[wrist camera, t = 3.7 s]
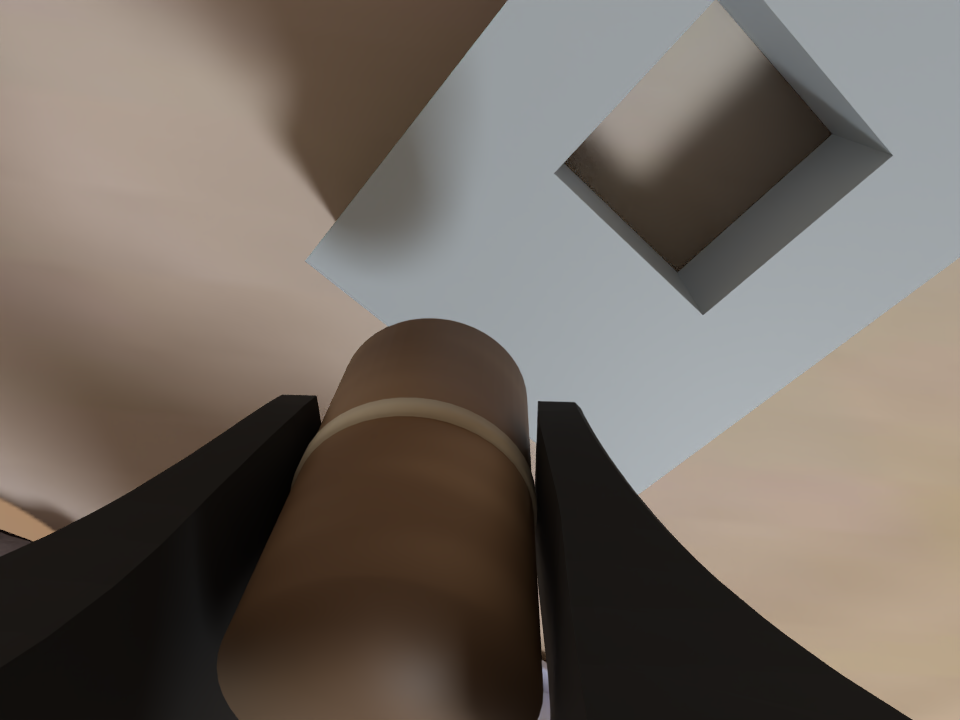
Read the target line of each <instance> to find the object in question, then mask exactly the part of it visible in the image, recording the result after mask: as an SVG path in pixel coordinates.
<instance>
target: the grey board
mask: <svg viewBox="0 0 960 720" xmlns="http://www.w3.org/2000/svg"><path fill="white" fill-rule="evenodd" d="M713 1H714V0H508V1H507V2H506V3H505V4H504V6H503V7H502V8H501V10H500V11H499V12H498V13H497V15H496V16H495V17H494V19H493V20H492V21H491V22H490V24H489V25H488V26H487V28H486V29H485V30H484V31H483V33H482V34H481V35H480V37H479V38H478V39H477V40H476V42H475V43H474V44H473V46H472V47H471V48H470V49H469V51H468V52H467V53H466V55H465V56H464V57H463V58H462V60H461V61H460V62H459V64H458V65H457V66H456V67H455V69H454V70H453V71H452V73H451V74H450V75H449V76H448V78H447V79H446V80H445V82H444V83H443V84H442V85H441V87H440V88H439V89H438V91H437V92H436V93H435V94H434V96H433V97H432V98H431V100H430V101H429V102H428V103H427V105H426V106H425V107H424V109H423V110H422V111H421V112H420V114H419V115H418V116H417V118H416V119H415V120H414V121H413V123H412V124H411V125H410V127H409V128H408V129H407V130H406V132H405V133H404V134H403V136H402V137H401V138H400V139H399V141H398V142H397V143H396V145H395V146H394V147H393V149H392V150H391V151H390V152H389V154H388V155H387V156H386V158H385V159H384V160H383V161H382V163H381V164H380V165H379V167H378V168H377V169H376V170H375V172H374V173H373V174H372V176H371V177H370V178H369V179H368V181H367V182H366V183H365V185H364V186H363V187H362V188H361V190H360V191H359V192H358V194H357V195H356V196H355V197H354V199H353V200H352V201H351V203H350V204H349V205H348V206H347V208H346V209H345V210H344V212H343V213H342V214H341V215H340V217H339V218H338V219H337V221H336V222H335V223H334V224H333V226H332V227H331V228H330V230H329V231H328V232H327V233H326V235H325V236H324V237H323V239H322V240H321V241H320V242H319V244H318V245H317V246H316V248H315V249H314V250H313V251H312V253H311V254H310V255H309V257H308V258H307V259H306V260H305V261H306V262H307V263H308V264H309V265H311V266H312V267H313V268H314V269H316V270H317V271H318V272H319V273H321V274H322V275H323V276H325V277H326V278H327V279H328V280H330V281H331V282H332V283H333V284H335V285H336V286H337V287H339V288H340V289H341V290H342V291H344V292H345V293H346V294H347V295H349V296H350V297H351V298H353V299H354V300H355V301H356V302H358V303H359V304H360V305H361V306H363V307H364V308H365V309H367V310H368V311H369V312H370V313H372V314H373V315H374V316H375V317H377V318H378V319H379V320H380V321H382V322H383V323H384V324H386V325H387V326H388V327H389V326H391V325H394V324H397V323H400V322H404V321H408V320H413V319H421V318H438V319H446V320H452V321H456V322H460V323H463V324H466V325H469V326H471V327H474V328H476V329H478V330H480V331H482V332H484V333H485V334H487V335H488V336H490V337H491V338H493V339H494V340H496V341H497V342H498V343H499V344H500V345H501V346H502V347H503V348H504V349H505V350H506V351H507V352H508V353H509V354H510V356H511V357H512V358H513V360H514V361H515V363H516V364H517V366H518V367H519V370H520V372H521V374H522V376H523V379H524V383H525V386H526V392H527V403H528V421H529V438H530V439H532V440H533V441H534V442H536V441H537V411H538V401H556V402H575V403H576V404H577V405H578V406H579V407H580V408H581V409H582V412H583V414H584V416H585V417H586V419H587V421H588V423H589V425H590V427H591V428H592V430H593V432H594V433H595V435H596V437H597V438H598V440H599V441H600V443H601V444H602V446H603V448H604V449H605V451H606V452H607V454H608V455H609V457H610V458H611V460H612V461H613V462H614V464H615V465H616V466H617V468H618V469H619V471H620V472H621V473H622V475H623V476H624V477H625V479H626V480H627V482H628V483H629V484H630V486H631V487H632V488H633V489H634V491H635V492H636V493H637V495H638V494H640V493H641V492H642V491H644V490H645V489H646V488H648V487H649V486H650V485H652V484H653V483H655V482H656V481H657V480H659V479H660V478H661V477H663V476H664V475H665V474H667V473H668V472H669V471H671V470H672V469H674V468H675V467H676V466H678V465H679V464H680V463H682V462H683V461H684V460H686V459H687V458H688V457H690V456H691V455H692V454H694V453H695V452H697V451H698V450H699V449H701V448H702V447H703V446H705V445H706V444H707V443H709V442H710V441H711V440H713V439H714V438H716V437H717V436H718V435H720V434H721V433H722V432H724V431H725V430H726V429H728V428H729V427H730V426H732V425H733V424H734V423H736V422H737V421H739V420H740V419H741V418H743V417H744V416H745V415H747V414H748V413H749V412H751V411H752V410H753V409H755V408H756V407H758V406H759V405H760V404H762V403H763V402H764V401H766V400H767V399H768V398H770V397H771V396H772V395H774V394H775V393H776V392H778V391H779V390H781V389H782V388H783V387H785V386H786V385H787V384H789V383H790V382H791V381H793V380H794V379H795V378H797V377H798V376H800V375H801V374H802V373H804V372H805V371H806V370H808V369H809V368H810V367H812V366H813V365H814V364H816V363H817V362H818V361H820V360H821V359H823V358H824V357H825V356H827V355H828V354H829V353H831V352H832V351H833V350H835V349H836V348H837V347H839V346H840V345H842V344H843V343H844V342H846V341H847V340H848V339H850V338H851V337H852V336H854V335H855V334H856V333H858V332H859V331H860V330H862V329H863V328H865V327H866V326H867V325H869V324H870V323H871V322H873V321H874V320H875V319H877V318H878V317H879V316H881V315H882V314H884V313H885V312H886V311H888V310H889V309H890V308H892V307H893V306H894V305H896V304H897V303H898V302H900V301H901V300H902V299H904V298H905V297H907V296H908V295H909V294H911V293H912V292H913V291H915V290H916V289H917V288H919V287H920V286H921V285H923V284H924V283H926V282H927V281H928V280H930V279H931V278H932V277H934V276H935V275H936V274H938V273H939V272H940V271H942V270H943V269H944V268H946V267H947V266H949V265H950V264H951V263H953V262H954V261H955V260H957V259H958V258H959V257H960V0H718V2H719V3H720V4H721V5H722V6H723V7H724V8H725V10H726V11H727V12H728V13H729V14H730V15H731V17H732V18H733V19H734V20H735V21H736V22H737V24H738V25H739V26H740V27H741V28H742V29H743V31H744V32H745V33H746V34H747V35H748V36H749V38H750V39H751V40H752V41H753V42H754V43H755V45H756V46H757V47H758V48H759V49H760V50H761V52H762V53H763V54H764V55H765V56H766V57H767V58H768V60H769V61H770V62H771V63H772V64H773V65H774V67H775V68H776V69H777V70H778V71H779V72H780V74H781V75H782V76H783V77H784V78H785V79H786V81H787V82H788V83H789V84H790V85H791V86H792V88H793V89H794V90H795V91H796V92H797V93H798V95H799V96H800V97H801V98H802V99H803V100H804V102H805V103H806V104H807V105H808V106H809V107H810V108H811V110H812V111H813V112H814V113H815V114H816V115H817V117H818V118H819V119H820V120H821V121H822V122H823V124H824V125H825V126H826V127H827V128H828V129H829V131H830V132H831V133H832V135H831V136H830V137H828V138H827V139H826V140H825V141H824V142H823V143H822V144H821V145H819V146H818V147H817V148H816V149H815V150H814V151H813V152H812V153H811V154H809V155H808V156H807V157H806V158H805V159H804V160H803V161H802V162H800V163H799V164H798V165H797V166H796V167H795V168H794V169H793V170H791V171H790V172H789V173H788V174H787V175H786V176H785V177H784V178H783V179H781V180H780V181H779V182H778V183H777V184H776V185H775V186H774V187H772V188H771V189H770V190H769V191H768V192H767V193H766V194H765V195H764V196H762V197H761V198H760V199H759V200H758V201H757V202H756V203H755V204H753V205H752V206H751V207H750V208H749V209H748V210H747V211H746V212H744V213H743V214H742V215H741V216H740V217H739V218H738V219H737V220H736V221H734V222H733V223H732V224H731V225H730V226H729V227H728V228H727V229H725V230H724V231H723V232H722V233H721V234H720V235H719V236H718V237H716V238H715V239H714V240H713V241H712V242H711V243H710V244H709V245H708V246H706V247H705V248H704V249H703V250H702V251H701V252H700V253H699V254H697V255H696V256H695V257H694V258H693V259H692V260H691V261H690V262H688V263H687V264H686V265H685V266H684V267H683V268H682V269H681V270H680V271H678V272H676V271H675V270H674V269H673V268H672V267H671V266H670V265H669V264H668V263H667V262H666V261H665V260H664V259H663V258H662V257H661V256H660V255H659V254H658V253H657V252H656V251H655V250H654V249H653V248H651V247H650V246H649V245H648V244H647V243H646V242H645V241H644V240H643V239H642V238H641V237H640V236H639V235H638V234H637V233H636V232H635V231H634V230H633V229H632V228H631V227H630V226H629V225H628V224H627V223H626V222H624V221H623V220H622V219H621V218H620V217H619V216H618V215H617V214H616V213H615V212H614V211H613V210H612V209H611V208H610V207H609V206H608V205H607V204H606V203H605V202H604V201H603V200H602V199H601V198H600V197H599V196H597V195H596V194H595V193H594V192H593V191H592V190H591V189H590V188H589V187H588V186H587V185H586V184H585V183H584V182H583V181H582V180H581V179H580V178H579V177H578V176H577V175H576V174H575V173H574V172H573V171H572V170H571V169H569V168H568V167H567V166H566V165H565V164H564V162H565V161H566V160H567V159H568V158H569V157H570V156H571V154H572V153H573V152H574V151H575V150H576V149H577V148H578V147H579V146H580V145H581V144H582V143H583V141H584V140H585V139H586V138H587V137H588V136H589V135H590V134H591V133H592V132H593V131H594V130H595V129H596V127H597V126H598V125H599V124H600V123H601V122H602V121H603V120H604V119H605V118H606V117H607V116H608V114H609V113H610V112H611V111H612V110H613V109H614V108H615V107H616V106H617V105H618V104H619V103H620V102H621V100H622V99H623V98H624V97H625V96H626V95H627V94H628V93H629V92H630V91H631V90H632V89H633V88H634V86H635V85H636V84H637V83H638V82H639V81H640V80H641V79H642V78H643V77H644V76H645V75H646V73H647V72H648V71H649V70H650V69H651V68H652V67H653V66H654V65H655V64H656V63H657V62H658V61H659V59H660V58H661V57H662V56H663V55H664V54H665V53H666V52H667V51H668V50H669V49H670V48H671V46H672V45H673V44H674V43H675V42H676V41H677V40H678V39H679V38H680V37H681V36H682V35H683V34H684V32H685V31H686V30H687V29H688V28H689V27H690V26H691V25H692V24H693V23H694V22H695V21H696V19H697V18H698V17H699V16H700V15H701V14H702V13H703V12H704V11H705V10H706V9H707V8H708V7H709V5H710V4H711V3H712V2H713Z"/></svg>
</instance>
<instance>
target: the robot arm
mask: <svg viewBox="0 0 960 720" xmlns="http://www.w3.org/2000/svg"><path fill="white" fill-rule="evenodd" d="M320 426H321V420H320V414H319V407H318V401H317V396H307V395H281V396H279V397H277V398H276V399H274V400H272V401H270V402H269V403H267V404H266V405H264V406H262V407H261V408H259V409H258V410H256V411H255V412H253V413H252V414H250V415H249V416H247V417H246V418H244V419H243V420H241V421H240V422H239V423H237V424H236V425H234V426H233V427H231V428H230V429H228V430H227V431H225V432H224V433H222V434H221V435H219V436H218V437H216V438H215V439H213V440H212V441H210V442H209V443H207V444H206V445H204V446H203V447H201V448H200V449H198V450H197V451H195V452H194V453H192V454H191V455H189V456H188V457H186V458H185V459H183V460H181V461H180V462H178V463H177V464H175V465H173V466H172V467H170V468H168V469H167V470H165V471H163V472H162V473H160V474H159V475H157V476H155V477H154V478H152V479H150V480H149V481H147V482H146V483H144V484H142V485H141V486H139V487H137V488H136V489H134V490H133V491H131V492H129V493H127V494H126V495H124V496H122V497H120V498H119V499H117V500H115V501H113V502H111V503H110V504H108V505H106V506H104V507H102V508H100V509H99V510H97V511H95V512H93V513H91V514H89V515H87V516H85V517H83V518H81V519H79V520H77V521H75V522H73V523H71V524H69V525H68V526H66V527H64V528H62V529H60V530H58V531H56V532H54V533H51V534H50V535H47V536H46V537H43V538H41V539H39V540H36V541H34V542H32V543H30V544H27V545H25V546H23V547H21V548H18V549H16V550H14V551H12V552H9V553H7V554H5V555H3V556H0V720H239V719H238V718H237V717H236V715H235V714H234V713H233V711H232V710H231V709H230V707H229V705H228V703H227V702H226V700H225V698H224V696H223V694H222V691H221V688H220V685H219V682H218V674H217V657H218V652H219V648H220V645H221V642H222V639H223V637H224V635H225V633H226V631H227V628H228V626H229V624H230V622H231V620H232V618H233V615H234V613H235V611H236V609H237V607H238V604H239V602H240V600H241V598H242V596H243V594H244V591H245V589H246V587H247V585H248V583H249V580H250V578H251V576H252V574H253V572H254V570H255V567H256V565H257V563H258V561H259V559H260V556H261V554H262V552H263V550H264V548H265V546H266V543H267V541H268V539H269V537H270V535H271V532H272V530H273V528H274V526H275V524H276V522H277V519H278V517H279V515H280V513H281V511H282V508H283V506H284V504H285V502H286V500H287V498H288V495H289V493H290V491H291V484H292V481H293V478H294V475H295V472H296V470H297V467H298V465H299V463H300V461H301V459H302V457H303V455H304V453H305V451H306V449H307V447H308V445H309V443H310V442H311V441H312V439H313V438H314V437H315V436H316V434H317V432H318V430H319V428H320ZM535 492H536V505H537V524H536V529H535V547H536V565H537V578H538V588H539V597H540V607H541V616H542V625H543V634H544V644H545V653H546V662H547V663H546V662H545V661H543V660H542V673H543V704H542V708H541V712H540V715H539V718H538V720H912V719H910V718H909V717H907V716H906V715H904V714H902V713H901V712H899V711H898V710H896V709H895V708H893V707H891V706H890V705H888V704H887V703H885V702H884V701H882V700H880V699H879V698H877V697H876V696H874V695H873V694H871V693H869V692H868V691H866V690H865V689H863V688H862V687H860V686H858V685H857V684H855V683H854V682H852V681H851V680H849V679H847V678H846V677H844V676H843V675H841V674H840V673H838V672H837V671H835V670H834V669H833V668H831V667H830V666H828V665H827V664H825V663H824V662H823V661H821V660H820V659H819V658H817V657H816V656H814V655H813V654H812V653H810V652H809V651H807V650H806V649H805V648H803V647H802V646H801V645H799V644H798V643H796V642H795V641H794V640H792V639H791V638H789V637H788V636H787V635H785V634H784V633H783V632H781V631H780V630H779V629H778V628H776V627H775V626H774V625H772V624H771V623H770V622H768V621H767V620H766V619H765V618H763V617H762V616H761V615H760V614H758V613H757V612H756V611H755V610H754V609H752V608H751V607H750V606H749V605H748V604H746V603H745V602H744V601H743V600H742V599H740V598H739V597H738V596H737V595H736V594H734V593H733V592H732V591H731V590H730V589H728V588H727V587H726V586H725V585H724V584H722V583H721V582H720V581H719V580H718V579H717V578H716V577H714V576H713V575H712V574H711V573H710V572H709V571H708V570H707V569H706V568H705V567H704V566H703V565H702V564H700V563H699V562H698V561H697V560H696V559H695V558H694V557H693V556H692V555H691V554H690V553H689V552H688V551H687V550H686V549H685V548H684V547H683V546H682V545H681V544H680V543H679V542H678V540H677V539H676V538H675V537H674V536H673V535H672V534H671V533H670V532H669V531H668V530H667V529H666V528H665V526H664V525H663V524H662V523H661V522H660V521H659V520H658V519H657V517H656V516H655V515H654V514H653V513H652V511H651V510H650V509H649V508H648V507H647V505H646V504H645V503H644V502H643V501H642V500H641V498H640V497H639V496H638V495H637V493H636V492H635V491H634V489H633V488H632V487H631V486H630V484H629V483H628V482H627V480H626V479H625V477H624V476H623V475H622V473H621V472H620V471H619V469H618V468H617V466H616V465H615V464H614V462H613V461H612V460H611V458H610V457H609V455H608V454H607V452H606V451H605V449H604V448H603V446H602V444H601V443H600V441H599V440H598V438H597V437H596V435H595V433H594V432H593V430H592V428H591V427H590V425H589V423H588V421H587V419H586V417H585V416H584V414H583V412H582V409H581V408H580V407H579V406H578V405H577V404H576V403H575V402H556V401H538V411H537V441H536V472H535Z"/></svg>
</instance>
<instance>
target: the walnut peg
mask: <svg viewBox="0 0 960 720" xmlns="http://www.w3.org/2000/svg"><path fill="white" fill-rule="evenodd" d="M536 524H537V505H536V492H535V484H534V480H533V476H532V473H531V457H530V439H529V421H528V403H527V392H526V386H525V383H524V379H523V376H522V374H521V372H520V370H519V367H518V366H517V364H516V363H515V361H514V360H513V358H512V357H511V356H510V354H509V353H508V352H507V351H506V350H505V349H504V348H503V347H502V346H501V345H500V344H499V343H498V342H497V341H496V340H494V339H493V338H491V337H490V336H488V335H487V334H485V333H484V332H482V331H480V330H478V329H476V328H474V327H471V326H469V325H466V324H463V323H460V322H456V321H452V320H446V319H438V318H421V319H413V320H408V321H404V322H400V323H397V324H394V325H391V326H389V327H386V328H385V329H383V330H381V331H379V332H377V333H376V334H374V335H373V336H372V337H370V338H369V339H368V340H367V341H366V342H365V343H364V344H363V345H362V346H361V347H360V348H359V349H358V350H357V352H356V353H355V354H354V356H353V357H352V359H351V361H350V363H349V365H348V367H347V369H346V371H345V373H344V375H343V378H342V380H341V382H340V384H339V386H338V388H337V391H336V393H335V395H334V397H333V399H332V402H331V404H330V406H329V408H328V410H327V412H326V415H325V417H324V419H323V421H322V423H321V426H320V428H319V430H318V432H317V434H316V436H315V437H314V438H313V439H312V441H311V442H310V443H309V445H308V447H307V449H306V451H305V453H304V455H303V457H302V459H301V461H300V463H299V465H298V467H297V470H296V472H295V475H294V478H293V481H292V484H291V491H290V493H289V495H288V498H287V500H286V502H285V504H284V506H283V508H282V511H281V513H280V515H279V517H278V519H277V522H276V524H275V526H274V528H273V530H272V532H271V535H270V537H269V539H268V541H267V543H266V546H265V548H264V550H263V552H262V554H261V556H260V559H259V561H258V563H257V565H256V567H255V570H254V572H253V574H252V576H251V578H250V580H249V583H248V585H247V587H246V589H245V591H244V594H243V596H242V598H241V600H240V602H239V604H238V607H237V609H236V611H235V613H234V615H233V618H232V620H231V622H230V624H229V626H228V628H227V631H226V633H225V635H224V637H223V639H222V642H221V645H220V648H219V652H218V657H217V674H218V682H219V685H220V688H221V691H222V694H223V696H224V698H225V700H226V702H227V703H228V705H229V707H230V709H231V710H232V711H233V713H234V714H235V715H236V717H237V718H238V719H239V720H538V718H539V715H540V712H541V708H542V704H543V673H542V655H541V637H540V619H539V601H538V583H537V565H536V547H535V529H536Z"/></svg>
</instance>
